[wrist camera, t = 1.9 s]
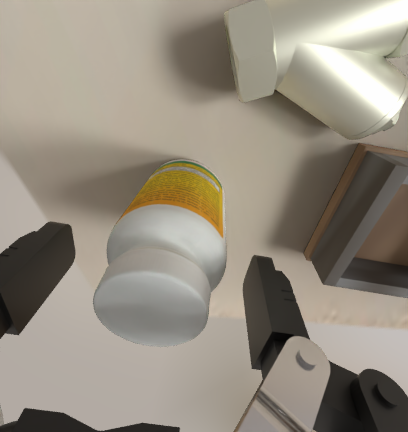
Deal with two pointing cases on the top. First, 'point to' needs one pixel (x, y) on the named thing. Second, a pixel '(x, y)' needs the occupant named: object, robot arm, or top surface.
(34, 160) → the top surface
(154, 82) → the top surface
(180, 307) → the supplement bottle
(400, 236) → the square holder
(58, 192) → the top surface
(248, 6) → the pipe fitting
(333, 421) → the robot arm
